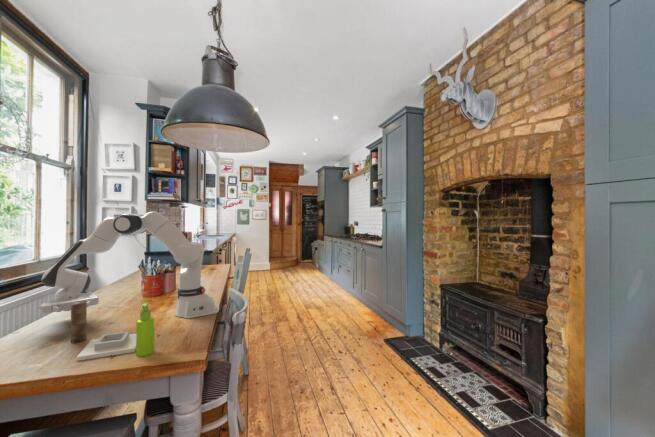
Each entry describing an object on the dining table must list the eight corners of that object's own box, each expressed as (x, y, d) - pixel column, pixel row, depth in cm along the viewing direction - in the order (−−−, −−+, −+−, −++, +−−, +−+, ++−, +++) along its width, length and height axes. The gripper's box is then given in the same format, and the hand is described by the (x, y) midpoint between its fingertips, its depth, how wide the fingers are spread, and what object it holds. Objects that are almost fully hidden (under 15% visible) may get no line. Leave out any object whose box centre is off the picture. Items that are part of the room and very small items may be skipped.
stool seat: (142, 335, 126) (142, 327, 126) (134, 351, 112) (134, 341, 112) (92, 342, 119) (92, 333, 119) (76, 360, 104) (76, 350, 104)
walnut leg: (88, 337, 125) (88, 300, 124) (83, 341, 120) (84, 304, 120) (73, 339, 123) (73, 302, 122) (68, 343, 118) (68, 305, 118)
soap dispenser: (134, 359, 106) (135, 306, 106) (137, 351, 112) (137, 301, 112) (153, 355, 109) (153, 304, 109) (154, 348, 115) (154, 299, 115)
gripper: (38, 299, 130) (41, 305, 121) (95, 291, 146) (101, 296, 137) (38, 312, 130) (40, 320, 121) (95, 303, 146) (101, 309, 137)
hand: (73, 307), depth 129 cm, fingers open, 8 cm apart
